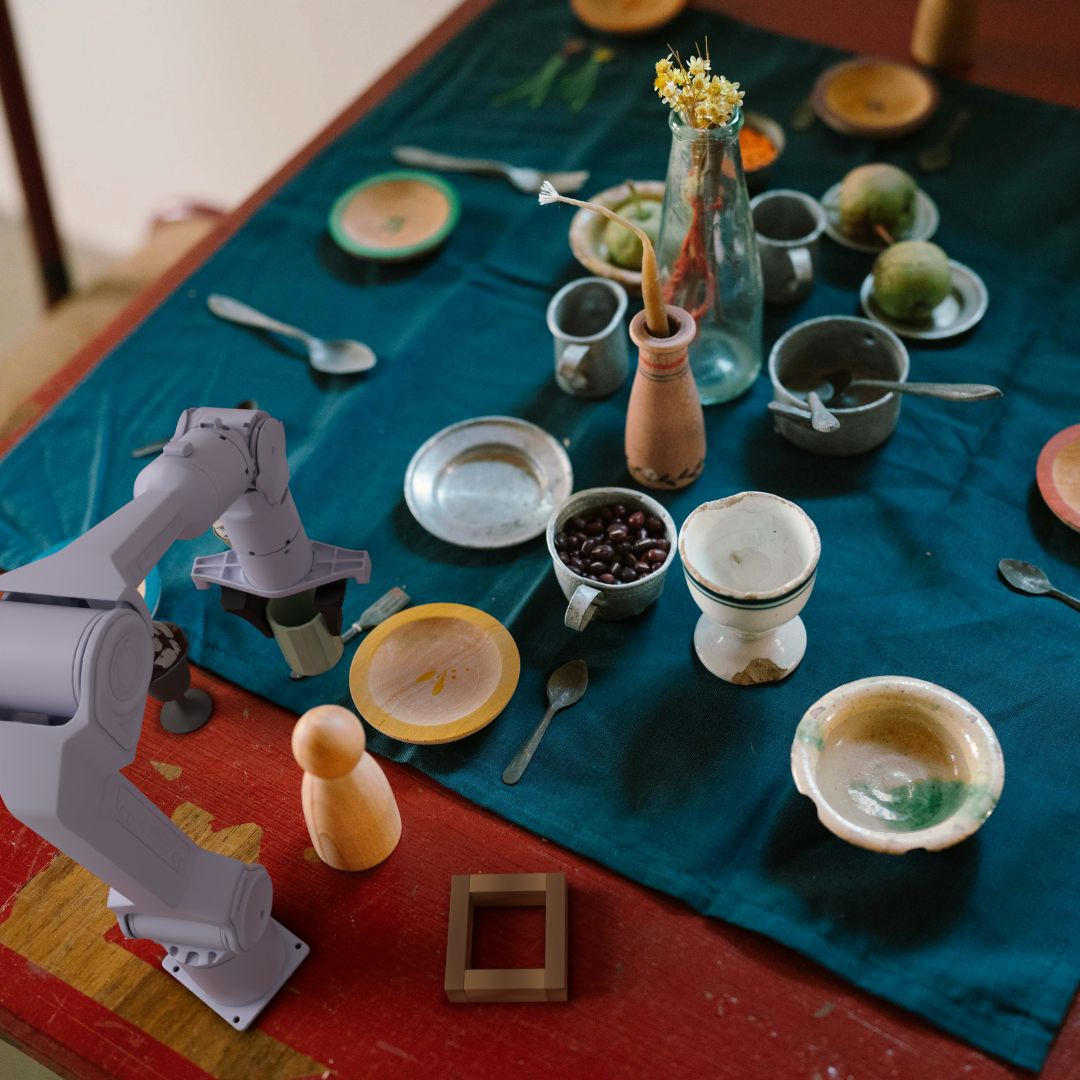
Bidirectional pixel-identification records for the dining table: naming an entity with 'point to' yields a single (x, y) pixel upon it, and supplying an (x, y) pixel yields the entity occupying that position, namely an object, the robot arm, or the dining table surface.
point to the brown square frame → (506, 981)
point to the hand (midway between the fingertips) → (305, 628)
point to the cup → (303, 633)
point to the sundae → (176, 681)
